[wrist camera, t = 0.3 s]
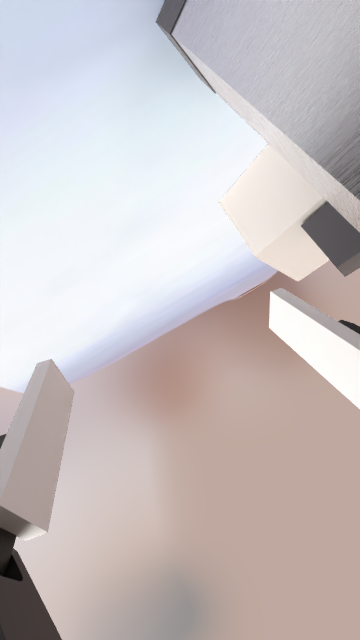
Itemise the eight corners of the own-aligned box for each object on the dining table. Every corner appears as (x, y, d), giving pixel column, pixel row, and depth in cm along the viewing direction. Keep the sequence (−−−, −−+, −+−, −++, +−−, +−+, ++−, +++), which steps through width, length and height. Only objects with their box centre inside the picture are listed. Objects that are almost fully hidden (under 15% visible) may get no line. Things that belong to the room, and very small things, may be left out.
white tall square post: (155, 21, 12) (429, 266, 4) (201, -88, 10) (965, -22, 2) (200, 79, 14) (421, 296, 7) (244, 1, 12) (648, 187, 4)
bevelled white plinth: (218, 202, 23) (255, 257, 20) (365, 27, 15) (473, 68, 12) (265, 237, 31) (298, 282, 27) (380, 134, 23) (448, 178, 19)
